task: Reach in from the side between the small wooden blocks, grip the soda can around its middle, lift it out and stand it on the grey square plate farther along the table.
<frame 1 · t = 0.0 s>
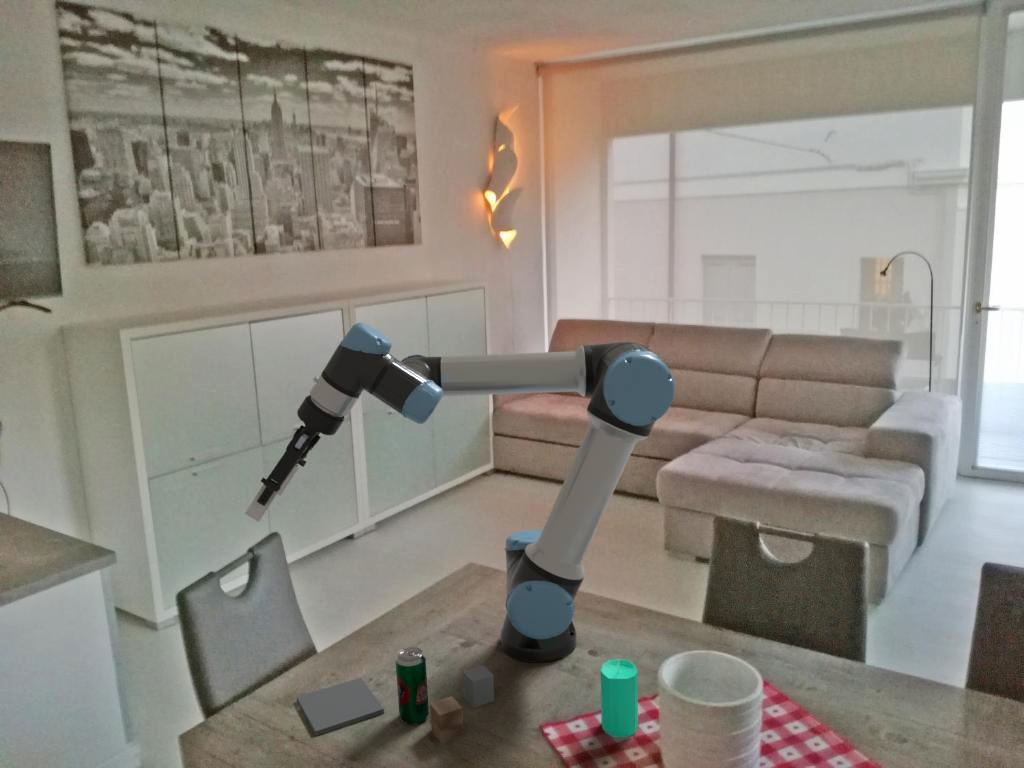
hand: (263, 503, 144), 36 cm above the table, tool tilted 35°, fingers open, 13 cm apart
walnut block: (447, 732, 137), on the table
grey square plate: (339, 706, 145), on the table
candle: (619, 727, 136), on the table
soda can: (414, 718, 141), on the table
slate grey block: (479, 698, 146), on the table
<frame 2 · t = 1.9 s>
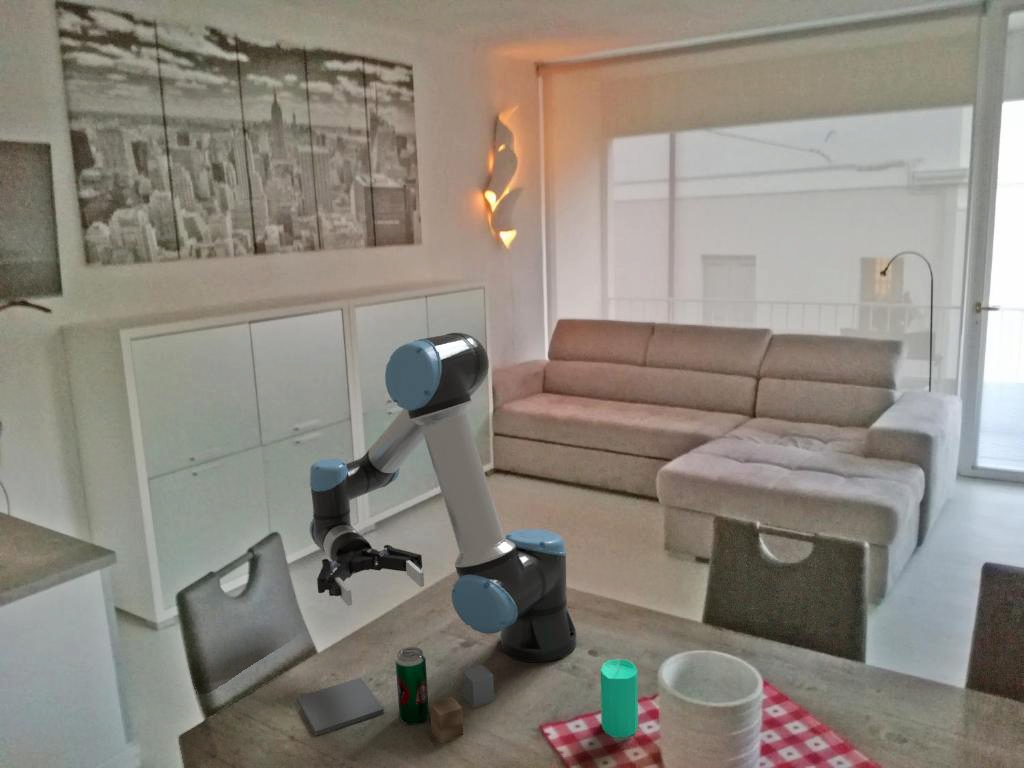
hand: (386, 588, 146), 20 cm above the table, tool horizontal, fingers open, 13 cm apart
nothing on the table moved.
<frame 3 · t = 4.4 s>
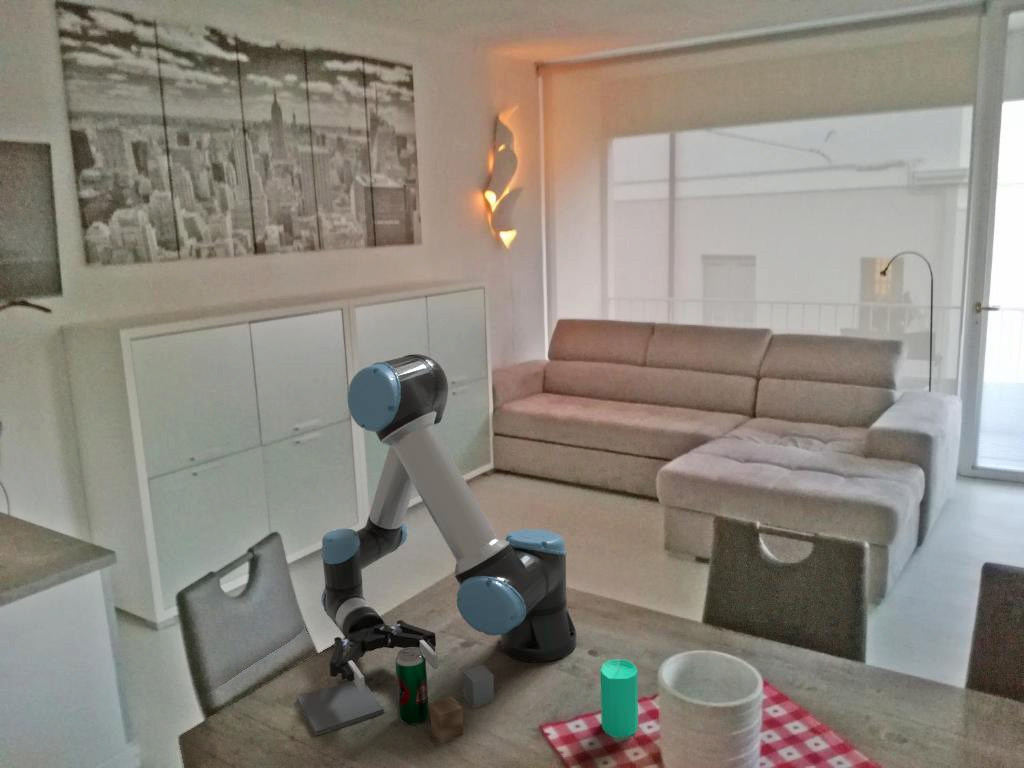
hand: (400, 673, 143), 6 cm above the table, tool horizontal, fingers open, 13 cm apart
nothing on the table moved.
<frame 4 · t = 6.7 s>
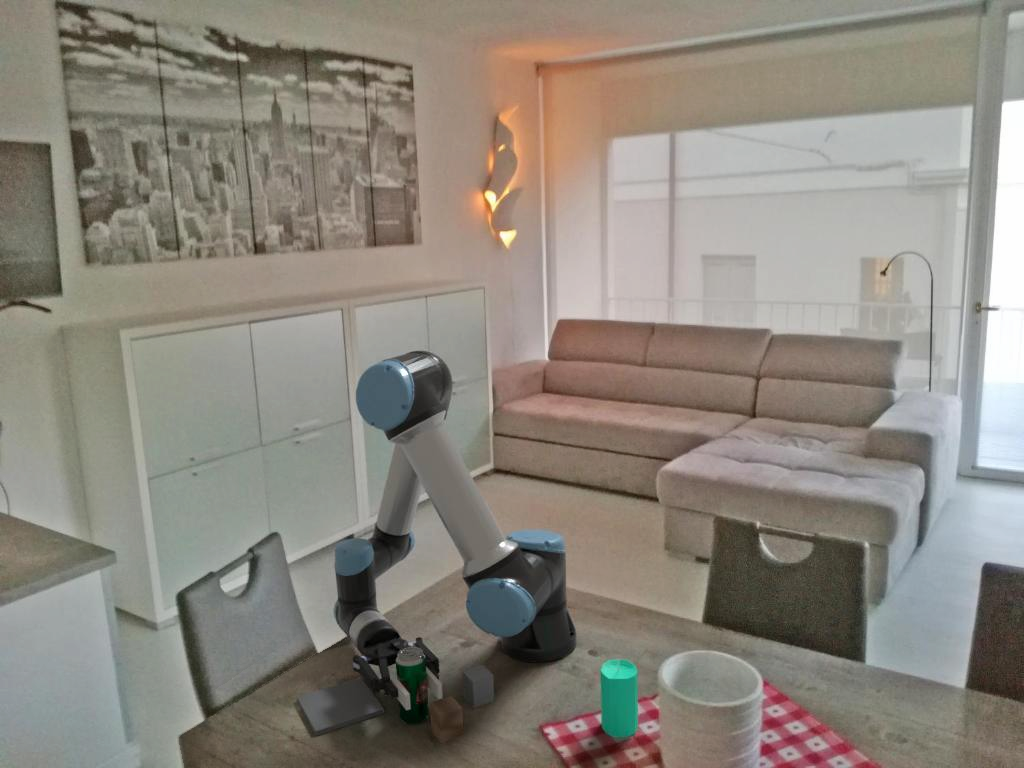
hand: (424, 696, 135), 7 cm above the table, tool horizontal, fingers closed on soda can, 5 cm apart
soda can: (414, 718, 141), on the table, touching gripper
everything else where it was.
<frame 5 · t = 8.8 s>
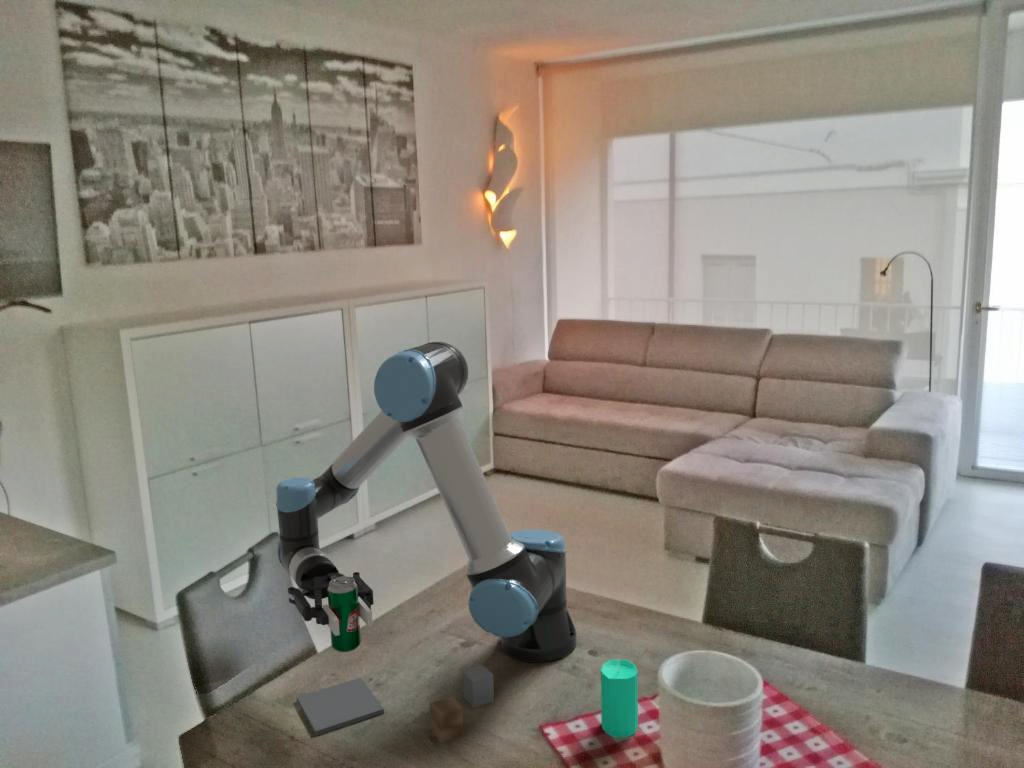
hand: (353, 623, 137), 18 cm above the table, tool horizontal, fingers closed on soda can, 5 cm apart
soda can: (346, 647, 142), point 12 cm above the table, touching gripper
everything else where it was.
when the fingers open (9 cm above the table, at t = 11.1 s): soda can drops 1 cm, resting on grey square plate.
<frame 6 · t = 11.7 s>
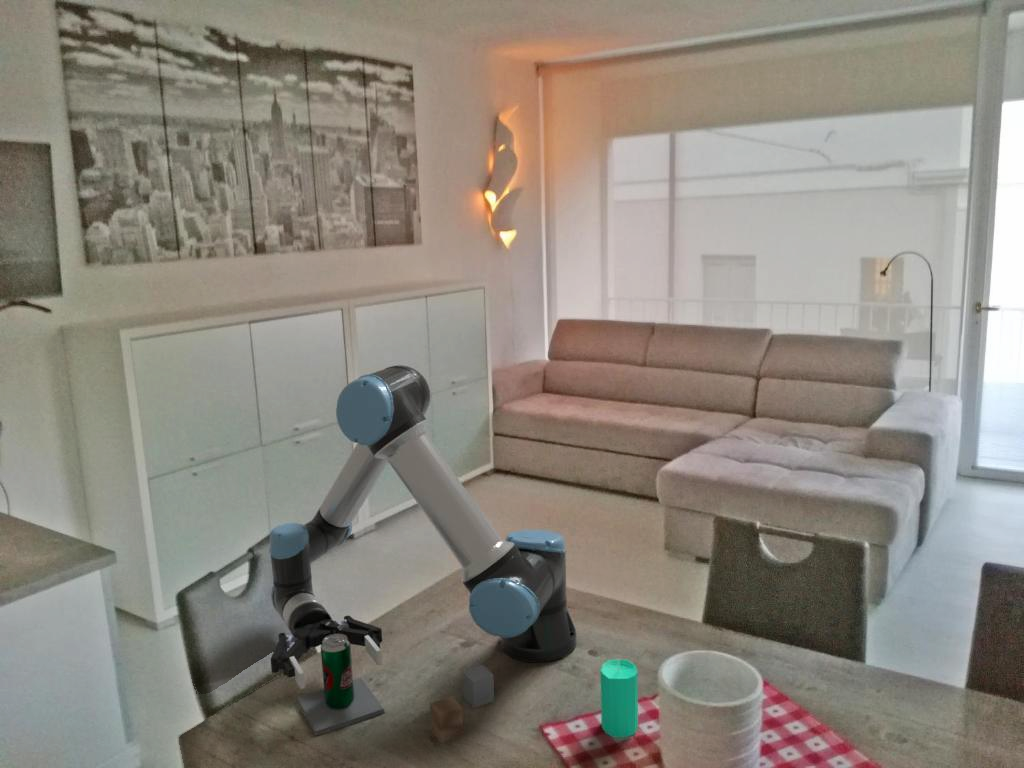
hand: (341, 669, 141), 9 cm above the table, tool horizontal, fingers open, 13 cm apart
soda can: (340, 703, 145), point 1 cm above the table, touching grey square plate
everything else where it was.
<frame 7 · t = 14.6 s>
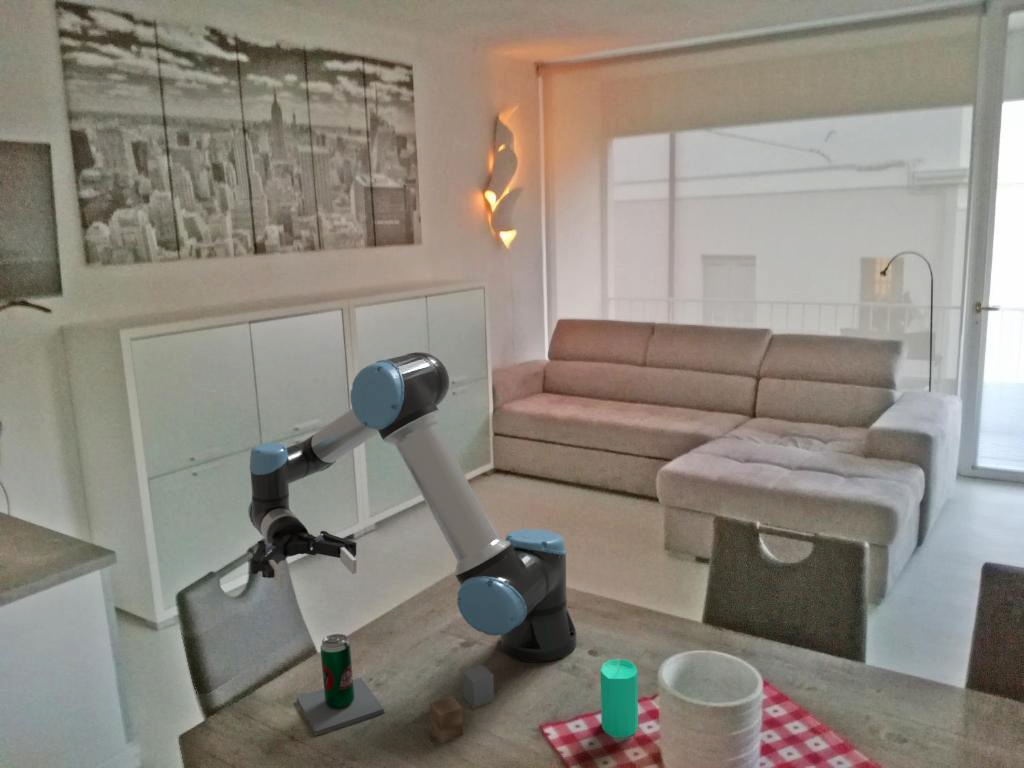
hand: (319, 573, 149), 21 cm above the table, tool horizontal, fingers open, 13 cm apart
nothing on the table moved.
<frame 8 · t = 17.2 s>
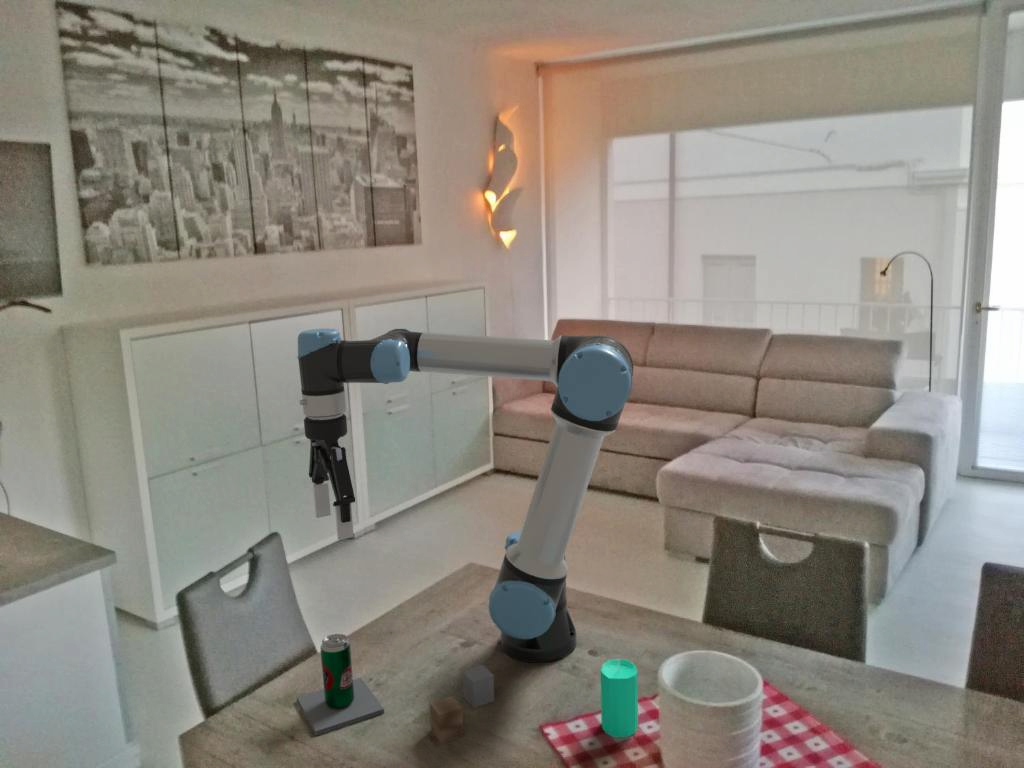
hand: (334, 526, 152), 29 cm above the table, tool pointing down, fingers open, 13 cm apart
nothing on the table moved.
at the end: soda can inside the target area on the grey square plate (0.1 cm from its centre), point 0.6 cm above the grey square plate's base; soda can tilted 0°; the gripper is holding nothing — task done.
